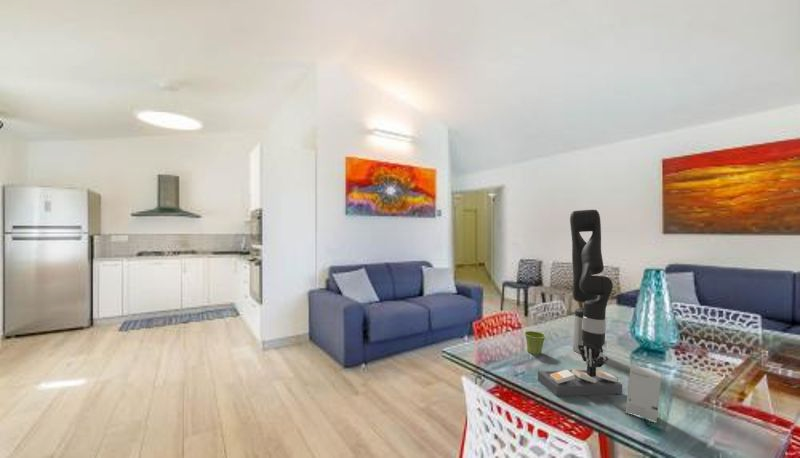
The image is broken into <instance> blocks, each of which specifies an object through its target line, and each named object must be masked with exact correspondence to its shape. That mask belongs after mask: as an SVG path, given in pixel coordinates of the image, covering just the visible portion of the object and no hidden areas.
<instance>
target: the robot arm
mask: <svg viewBox="0 0 800 458" xmlns="http://www.w3.org/2000/svg"><path fill="white" fill-rule="evenodd" d="M569 224H570V225H569V226H570V232H571V233H570V234H571V242H572V243H571V244H572V245H571V246H572V247H571V248H572V250H571V251H572V253H571V257H572V258H571V260H572V261H571V262H572V273H573V274H572V275H573V276H572V280H573V281H572V297H573V300H574V301H575V302H579V303H583V307H581V308H577V309H575V311H574V322H573V323H574V324H573V338H572V339H573V343H572V350H573V351H574V353H575V352H576V353H578V354H579V355H580V356H581V358H582V361H583V362H585V364H586V367H587V368H586V370H587V375H589V376H590V377H595V375H596V370H597V368H601V367H602V366H603V365H604V364H606V362H608V360H609V358H608V357H607V356H605V355H604V348H603V346H604V345H605V343H606V310H607V305H608V302H609V299H610V297H611V294H612V291H613V286H614V284H613V281H612V279H611V278H610V277H608V276H604V275H599V274H601V273H603V272H604V269H605V266H604V260H603V254H602V227H601V226H602V225H601V215H600V213H599V211H598V210H597V209H584V210H583V209H582V210H573V211H572V212H570V215H569ZM584 232H585V233H587V232H592V233H591V236H590V238H589V239H588V241H587V242H586V240H585V239H584V238H583V236H582V235H581V233H584Z"/></svg>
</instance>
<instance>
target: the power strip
mask: <svg viewBox="0 0 800 458" xmlns="http://www.w3.org/2000/svg"><path fill="white" fill-rule="evenodd" d="M567 370H568V369H567ZM572 370H573V369H572ZM572 370H568V371H570V372H571V373H572ZM577 370H578V371H581V372H583V373H586V374H587V369H577ZM560 371H561V370H538V371H537V381H538V382H539V383H540V384H542V385H543V386H544V387H545V388H546V389H548V390H549V391H550V392H551V393H552V394H553V393H554V394H553V395H555V396H556V397H572V396H577V397H578V396H598V395H599V396H600V395H601V396H602V395H605V396H606V395H619V394H618V393H622V394H623V384H622V383H621V382H619V381H617V382H614V381H610V380H606V379H603V378H600V377H598V376H597V375H595V377H594V378H595V379H597V381H596V383H593V382H590V381H587V380H584V379H581V378H579V377H578V376H576V375H575V374H574V375H575V379H572V380H569V381H566V382H562V383H559V384H557V383H556V382H555V381H553V380H552V379H551V378H550V374H553V373H556V372H560ZM615 377H616V378H618V377H617V376H615ZM618 379H619V378H618ZM616 393H617V394H616Z"/></svg>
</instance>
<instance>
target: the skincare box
mask: <svg viewBox="0 0 800 458" xmlns="http://www.w3.org/2000/svg"><path fill="white" fill-rule="evenodd" d="M662 376H663V375H662V372H659V371H656V370H652V369H650V368H646V367H642V366H638V365H635V364H630V368H629V376H628V386H627V395H626V406H625V407H626V408H625V413H632V414H636V415H640V416H643V417H645V418H648V419H651V420H654V421H656V423H657V422H658V421H657V420H658V413H659V403H660V396H661V385H662Z"/></svg>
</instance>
